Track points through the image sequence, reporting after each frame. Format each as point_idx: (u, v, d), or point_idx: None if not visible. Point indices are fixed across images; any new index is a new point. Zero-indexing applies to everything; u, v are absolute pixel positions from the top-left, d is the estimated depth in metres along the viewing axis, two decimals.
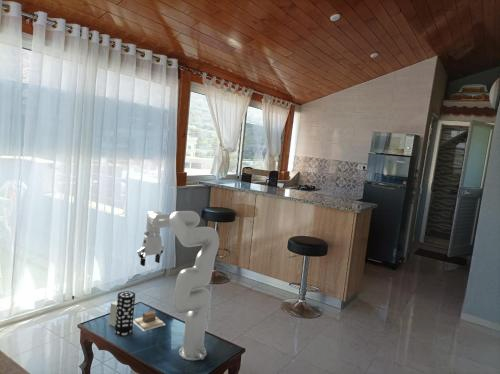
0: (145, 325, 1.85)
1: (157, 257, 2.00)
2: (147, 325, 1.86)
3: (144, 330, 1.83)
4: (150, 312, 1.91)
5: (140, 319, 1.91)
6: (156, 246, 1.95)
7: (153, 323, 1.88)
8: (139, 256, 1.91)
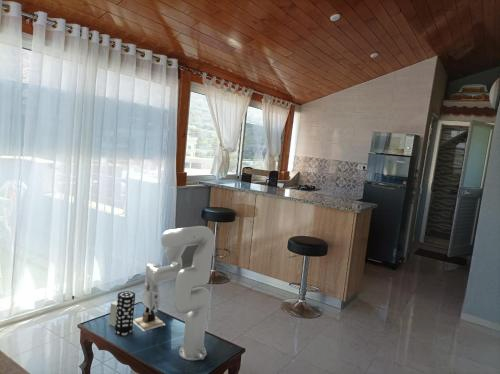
0: (145, 325, 1.85)
1: None
2: (147, 325, 1.86)
3: (144, 330, 1.83)
4: None
5: (140, 319, 1.91)
6: None
7: (153, 323, 1.88)
8: (152, 313, 1.87)
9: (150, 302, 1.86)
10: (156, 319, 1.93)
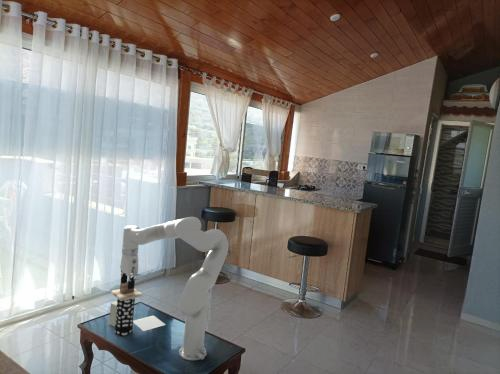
0: (123, 296, 1.72)
1: (125, 277, 1.80)
2: (124, 296, 1.72)
3: (144, 330, 1.83)
4: None
5: (117, 291, 1.78)
6: None
7: (131, 294, 1.75)
8: (132, 279, 1.72)
9: (128, 267, 1.72)
10: (135, 291, 1.80)
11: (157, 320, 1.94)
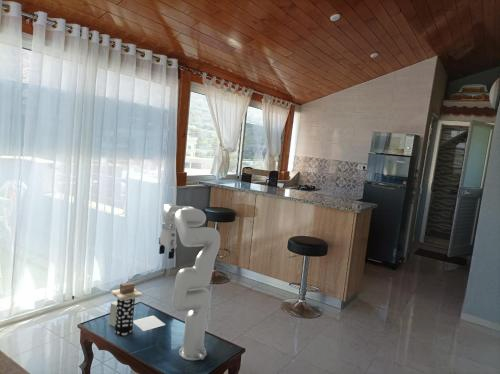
0: (123, 296, 1.72)
1: (163, 248, 2.04)
2: (124, 296, 1.72)
3: (144, 330, 1.83)
4: (128, 283, 1.78)
5: (117, 291, 1.78)
6: None
7: (131, 295, 1.75)
8: (173, 250, 1.95)
9: (167, 240, 1.95)
10: (135, 291, 1.80)
11: (157, 320, 1.94)
